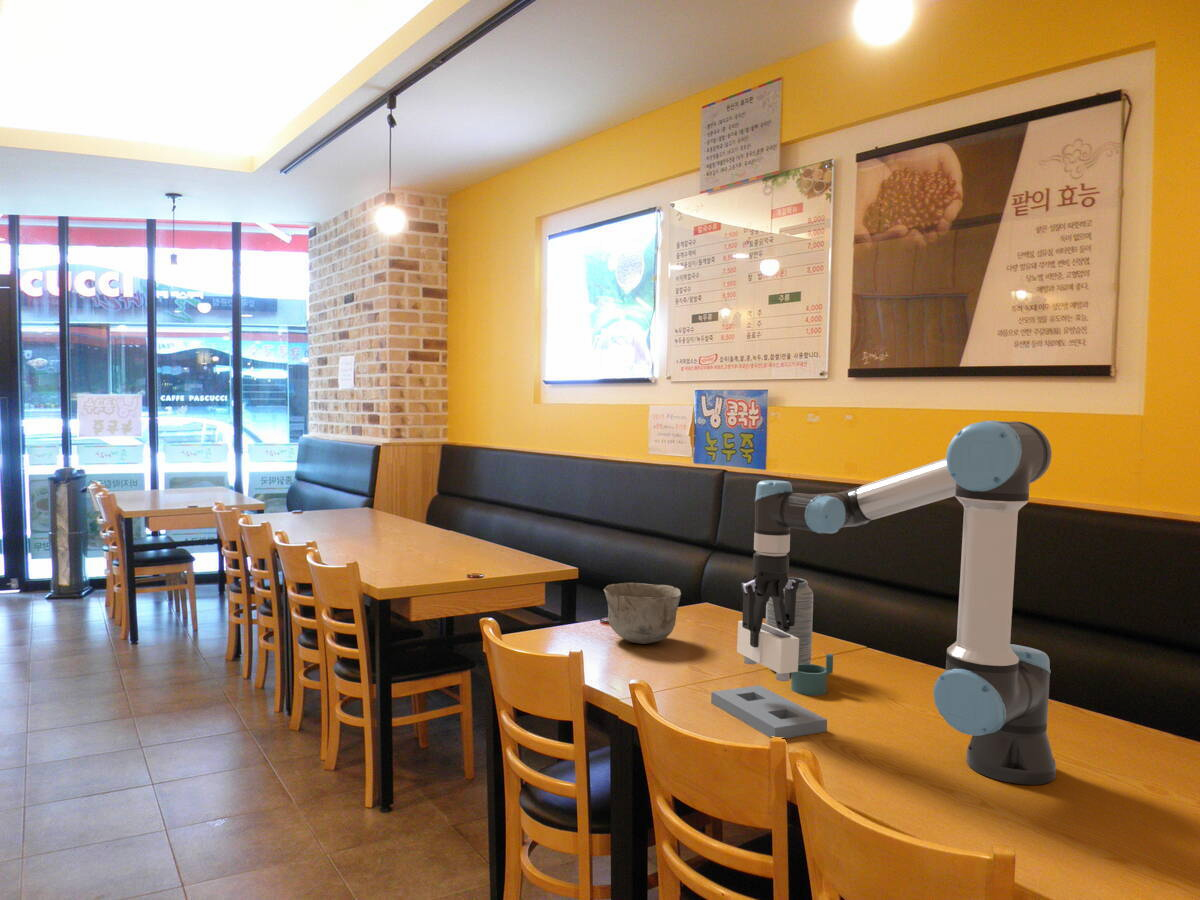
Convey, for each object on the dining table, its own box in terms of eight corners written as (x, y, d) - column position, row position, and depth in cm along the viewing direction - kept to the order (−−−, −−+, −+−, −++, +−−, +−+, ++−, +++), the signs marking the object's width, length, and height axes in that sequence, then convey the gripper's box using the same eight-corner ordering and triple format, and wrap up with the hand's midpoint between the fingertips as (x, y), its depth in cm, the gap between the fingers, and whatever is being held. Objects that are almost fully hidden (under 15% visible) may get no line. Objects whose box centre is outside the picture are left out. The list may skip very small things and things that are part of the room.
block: (797, 680, 183) (799, 637, 183) (779, 683, 181) (781, 639, 181) (753, 658, 198) (755, 618, 197) (736, 660, 196) (738, 619, 195)
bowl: (607, 630, 261) (609, 579, 260) (681, 634, 258) (682, 583, 257) (597, 649, 239) (598, 595, 239) (677, 654, 236) (679, 599, 236)
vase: (795, 661, 232) (798, 575, 231) (819, 674, 221) (822, 583, 220) (756, 664, 228) (758, 576, 227) (778, 677, 217) (781, 585, 216)
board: (826, 731, 181) (827, 719, 181) (774, 740, 176) (775, 727, 176) (759, 696, 203) (759, 685, 203) (711, 702, 198) (711, 691, 198)
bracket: (835, 692, 207) (836, 654, 207) (806, 697, 203) (807, 659, 202) (808, 682, 215) (809, 645, 215) (779, 687, 210) (781, 650, 210)
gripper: (794, 548, 195) (790, 651, 196) (726, 551, 188) (723, 659, 189) (815, 553, 188) (811, 661, 189) (746, 557, 181) (742, 669, 182)
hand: (767, 660), depth 189 cm, fingers closed on block, 4 cm apart
